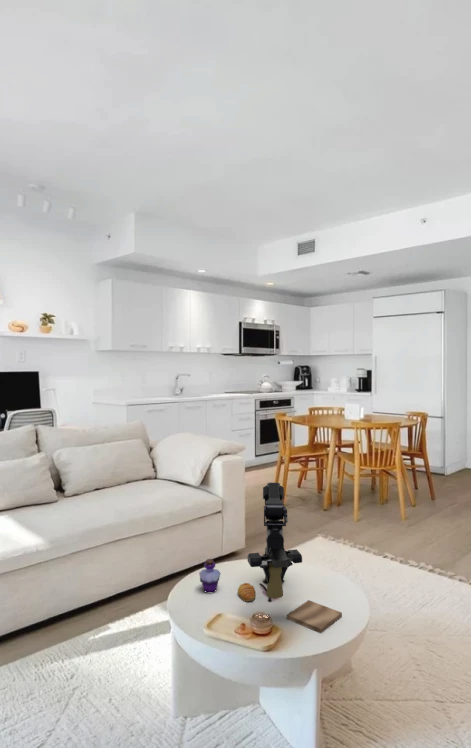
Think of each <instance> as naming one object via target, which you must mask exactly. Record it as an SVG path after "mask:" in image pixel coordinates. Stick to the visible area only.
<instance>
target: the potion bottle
mask: <svg viewBox="0 0 471 748" xmlns="http://www.w3.org/2000/svg"><path fill="white" fill-rule="evenodd" d="M203 565H204V566H203V567H204V569H201V570H200V571H199V573H198V575H199V582H200V583H201V585H202V590H203V589H204V591H206V592H214V591H215V590H216V591H218V590H217V589H218V584H219V581H220V577H221V571H220V570H219V569H216V562H215V561H214V559H213V558H207V559H206V561H205V562H204V563H203ZM204 591H203V592H204ZM216 591H215V592H216ZM206 592H205V593H206ZM215 592H214V593H215Z"/></svg>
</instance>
